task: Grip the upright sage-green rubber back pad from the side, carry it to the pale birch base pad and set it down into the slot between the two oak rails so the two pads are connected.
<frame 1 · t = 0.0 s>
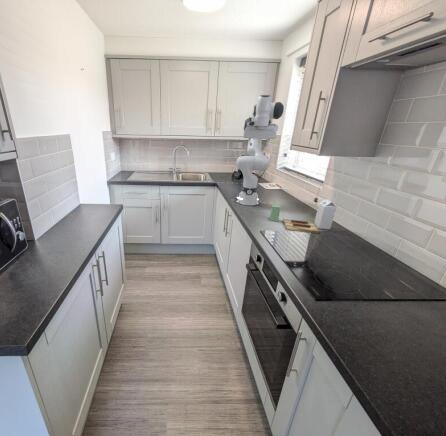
hand: (258, 146, 151), 48 cm above the worktop, tool pointing down, fingers open, 8 cm apart
base pad: (299, 226, 148), on the worktop
back pad: (273, 219, 159), on the worktop
milk carton: (321, 227, 149), on the worktop
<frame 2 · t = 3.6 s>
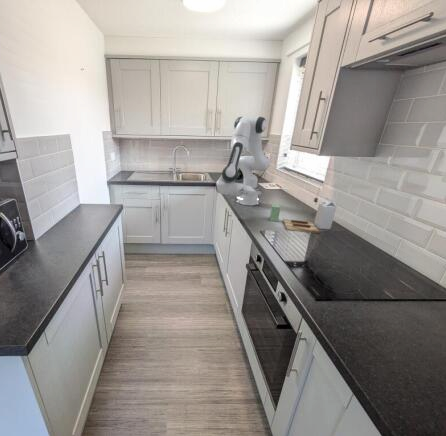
hand: (260, 192, 155), 19 cm above the worktop, tool horizontal, fingers open, 8 cm apart
nothing on the worktop moved.
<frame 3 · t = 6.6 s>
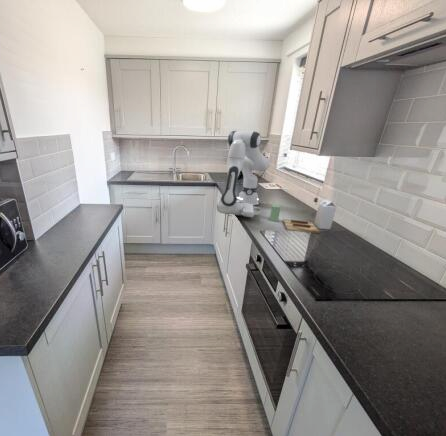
hand: (260, 211, 159), 5 cm above the worktop, tool horizontal, fingers open, 8 cm apart
nothing on the worktop moved.
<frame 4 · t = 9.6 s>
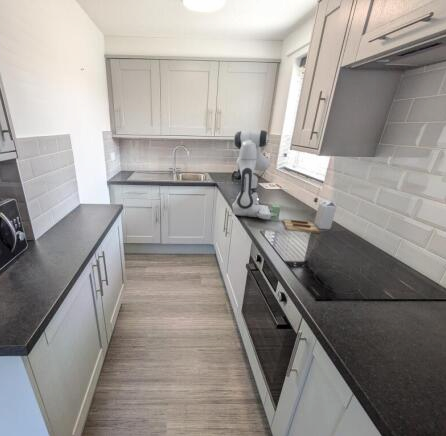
hand: (276, 213, 157), 5 cm above the worktop, tool horizontal, fingers closed on back pad, 4 cm apart
back pad: (273, 219, 159), on the worktop, touching gripper
everything else where it was.
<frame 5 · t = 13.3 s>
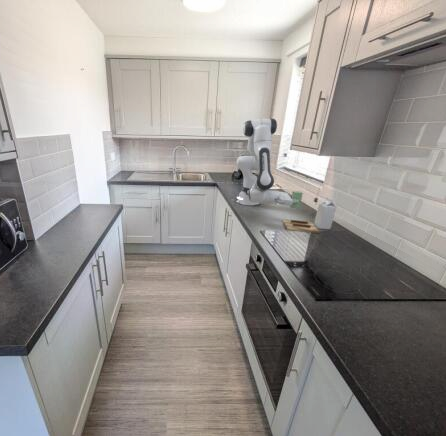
hand: (297, 199, 145), 17 cm above the worktop, tool horizontal, fingers closed on back pad, 4 cm apart
back pad: (294, 207, 147), point 12 cm above the worktop, touching gripper
everything else where it was.
when the fingers open (6 cm above the worktop, at t = 17.3 s): back pad stays where it is, resting on base pad.
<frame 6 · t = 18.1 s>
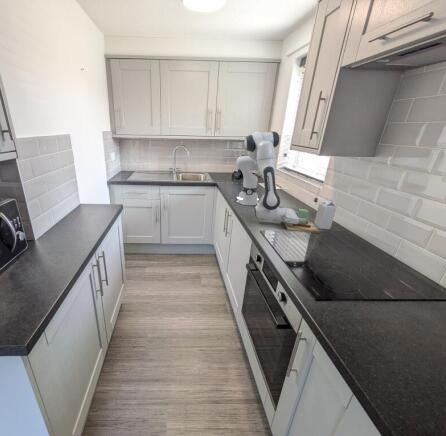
hand: (303, 217, 146), 7 cm above the worktop, tool horizontal, fingers open, 8 cm apart
back pad: (300, 224, 148), point 1 cm above the worktop, touching base pad
everything else where it was.
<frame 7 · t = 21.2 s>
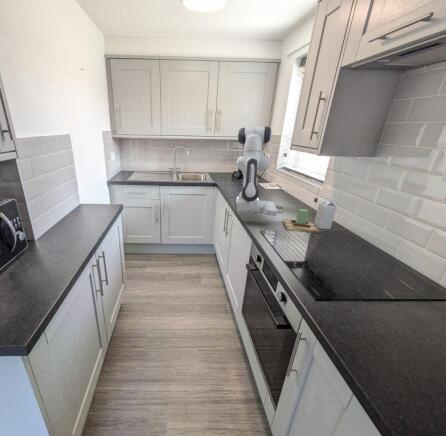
hand: (282, 209, 148), 10 cm above the worktop, tool horizontal, fingers open, 8 cm apart
nothing on the worktop moved.
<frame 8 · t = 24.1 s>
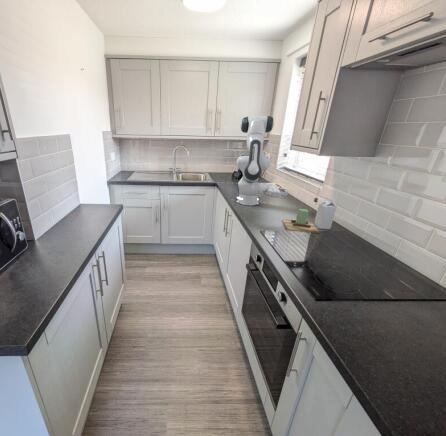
hand: (286, 192, 143), 22 cm above the worktop, tool horizontal, fingers open, 8 cm apart
nothing on the worktop moved.
at the end: back pad 0.2 cm off-centre on the base pad, point 1.5 cm above the base pad's base; back pad tilted 0°; the gripper is holding nothing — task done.
